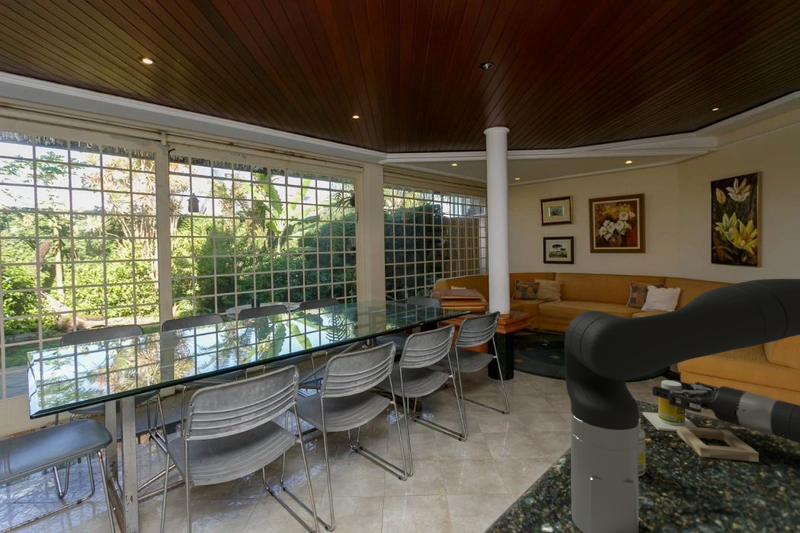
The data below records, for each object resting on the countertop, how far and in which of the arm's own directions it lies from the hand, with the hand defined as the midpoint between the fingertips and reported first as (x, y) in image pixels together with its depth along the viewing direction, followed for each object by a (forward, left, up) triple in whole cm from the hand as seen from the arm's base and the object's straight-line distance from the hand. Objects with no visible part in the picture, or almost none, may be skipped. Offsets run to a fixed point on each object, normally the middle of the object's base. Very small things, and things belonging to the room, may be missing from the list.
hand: (662, 386), depth 93 cm
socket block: (-12, -5, -8) cm, 16 cm away
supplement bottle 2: (-1, -2, -8) cm, 8 cm away
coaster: (-1, -1, -8) cm, 9 cm away
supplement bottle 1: (-25, +16, -9) cm, 31 cm away
